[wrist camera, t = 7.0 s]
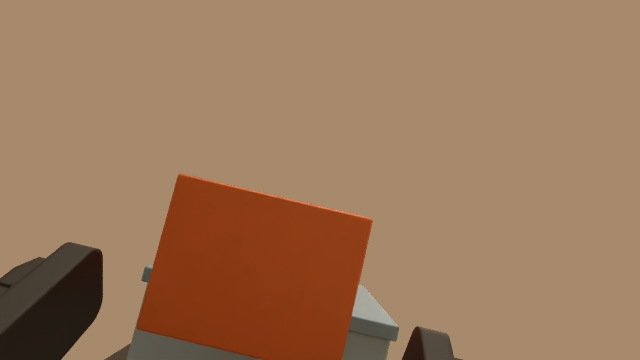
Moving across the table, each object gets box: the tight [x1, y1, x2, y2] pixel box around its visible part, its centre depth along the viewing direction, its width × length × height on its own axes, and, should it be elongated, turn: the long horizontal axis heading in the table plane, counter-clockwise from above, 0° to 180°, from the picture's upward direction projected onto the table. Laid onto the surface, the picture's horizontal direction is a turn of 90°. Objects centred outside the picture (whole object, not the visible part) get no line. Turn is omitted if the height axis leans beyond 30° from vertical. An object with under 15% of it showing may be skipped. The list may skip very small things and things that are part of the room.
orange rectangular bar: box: [136, 174, 373, 360], centre depth 19 cm, size 4×19×4 cm, turn 1°
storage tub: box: [127, 265, 399, 360], centre depth 23 cm, size 10×12×5 cm
